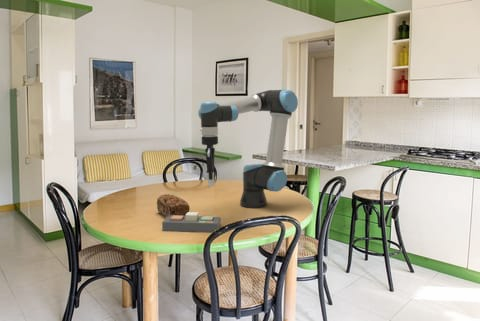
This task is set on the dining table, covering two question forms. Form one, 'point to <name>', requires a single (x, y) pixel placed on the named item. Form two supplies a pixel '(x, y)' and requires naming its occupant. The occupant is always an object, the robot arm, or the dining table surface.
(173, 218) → the key terracotta
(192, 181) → the dining table surface
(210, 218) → the key sage
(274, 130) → the robot arm
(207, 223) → the keypad board
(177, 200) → the bread
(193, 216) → the key cream
